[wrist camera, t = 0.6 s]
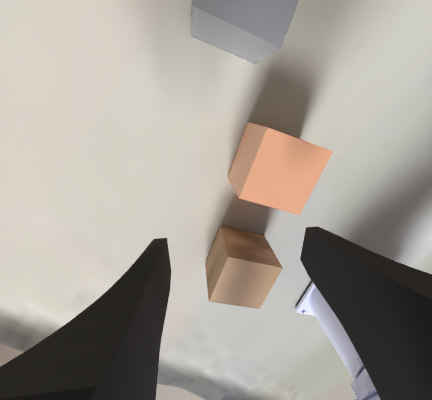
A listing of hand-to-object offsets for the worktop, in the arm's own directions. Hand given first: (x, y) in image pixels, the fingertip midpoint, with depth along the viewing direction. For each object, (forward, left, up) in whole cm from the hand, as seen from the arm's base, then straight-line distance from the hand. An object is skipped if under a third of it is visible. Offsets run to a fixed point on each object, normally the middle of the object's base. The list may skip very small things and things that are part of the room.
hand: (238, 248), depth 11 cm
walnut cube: (-4, +6, -10) cm, 12 cm away
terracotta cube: (-3, -4, -10) cm, 11 cm away
